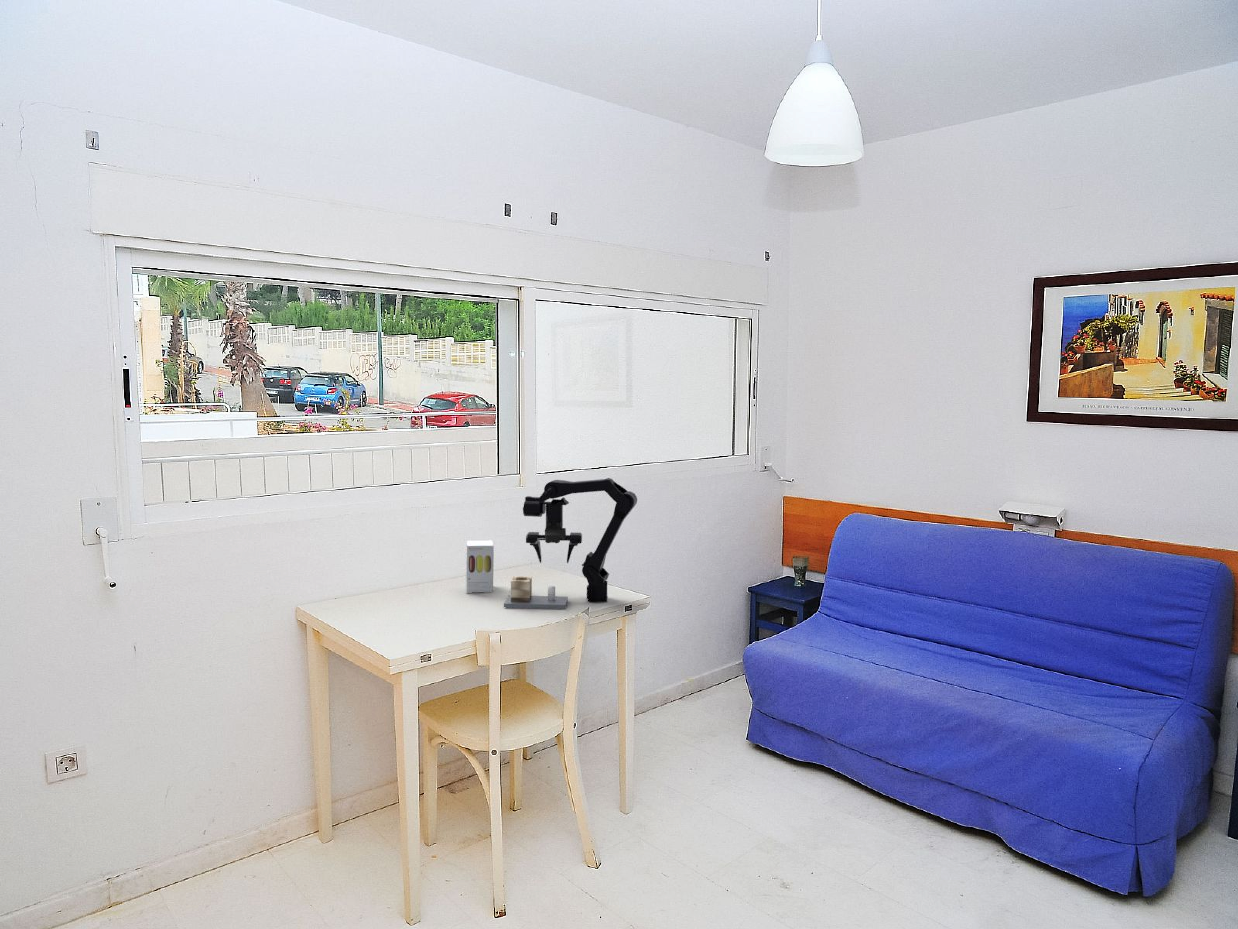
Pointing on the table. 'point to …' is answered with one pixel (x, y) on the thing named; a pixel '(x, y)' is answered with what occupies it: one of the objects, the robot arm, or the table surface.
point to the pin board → (540, 601)
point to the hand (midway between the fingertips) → (554, 562)
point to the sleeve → (521, 589)
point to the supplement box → (479, 566)
